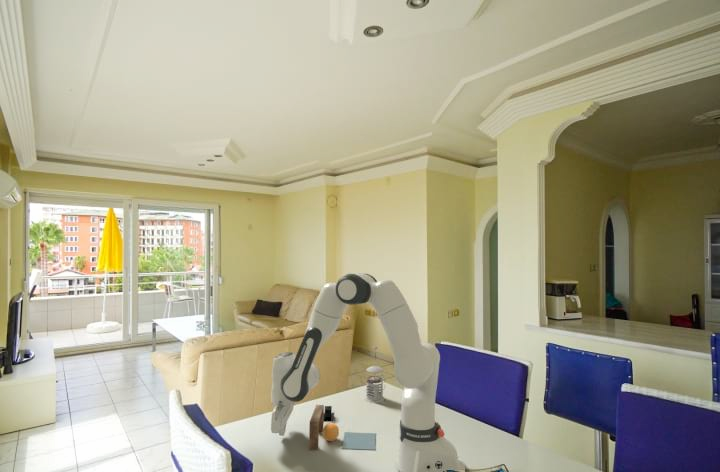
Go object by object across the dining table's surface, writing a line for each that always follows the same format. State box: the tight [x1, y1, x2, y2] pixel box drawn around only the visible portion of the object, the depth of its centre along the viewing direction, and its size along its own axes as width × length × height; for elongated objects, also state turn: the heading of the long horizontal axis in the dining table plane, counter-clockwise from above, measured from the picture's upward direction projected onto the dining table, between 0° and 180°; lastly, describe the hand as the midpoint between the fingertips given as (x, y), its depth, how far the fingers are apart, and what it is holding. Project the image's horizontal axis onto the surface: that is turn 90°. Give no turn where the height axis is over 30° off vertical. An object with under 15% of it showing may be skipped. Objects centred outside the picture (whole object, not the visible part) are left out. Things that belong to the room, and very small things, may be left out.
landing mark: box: [341, 431, 376, 451], centre depth 142 cm, size 12×12×1 cm
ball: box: [322, 422, 340, 442], centre depth 142 cm, size 6×6×6 cm
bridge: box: [308, 404, 325, 451], centre depth 143 cm, size 3×15×10 cm, turn 178°
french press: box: [363, 345, 386, 404], centre depth 182 cm, size 10×12×25 cm
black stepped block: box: [324, 405, 335, 423], centre depth 161 cm, size 12×7×5 cm, turn 3°
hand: (282, 433), depth 143 cm, fingers closed
